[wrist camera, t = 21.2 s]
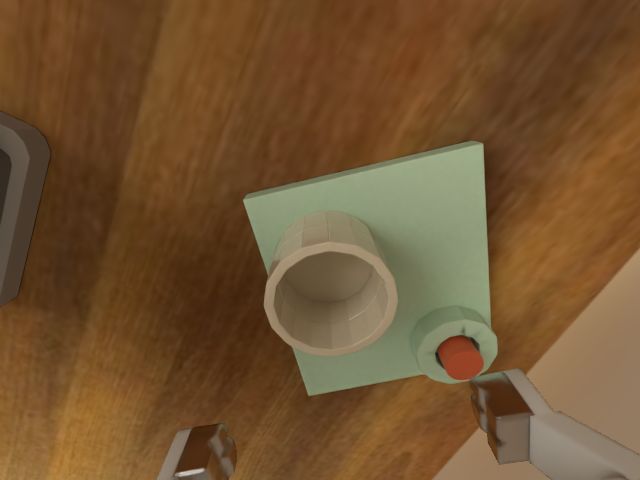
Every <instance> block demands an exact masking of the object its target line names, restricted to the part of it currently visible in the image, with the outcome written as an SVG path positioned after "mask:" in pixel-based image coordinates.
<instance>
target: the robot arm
mask: <svg viewBox="0 0 640 480" xmlns="http://www.w3.org/2000/svg"><path fill="white" fill-rule="evenodd" d="M469 381H470V388H471V390H472V391H473V394H472V396H471V404H472V408H473V412H474V415H475V417H476V420H477V422H478V424H479V426H480V428H481V429H482V430H483V431H485V432H486V433H487V437H488V444H489V446H490V448H491V450H492V452H493V454H494V456H495V457H496V459H497V461H498V463H499V464H506V463H515V462H523V461H530V463H531V464H532V465H534V466H535V467H536V468H537V469H538V470H540V471H541V472H542V473H543V474H545V475H546V476H547V477H548V478H550V479H551V480H640V454H638V453H636V452H635V451H633V450H631V449H629V448H627V447H625V446H623V445H622V444H620V443H617V442H616V441H614V440H612V439H611V438H609V437H607V436H605V435H603V434H601V433H599V432H598V431H596V430H594V429H592V428H590V427H588V426H587V425H585V424H583V423H581V422H579V421H577V420H575V419H574V418H572V417H570V416H568V415H566V414H564V413H563V412H561V411H558V412H555V411H554V410H553V409H552V408H551V406H550V405H549V404H548V403H547V401H546V400H545V399H544V398H543V396H542V395H541V394H540V392H539V391H538V390H537V389H536V387H535V386H534V385H533V383H532V382H531V381H530V380H529V378H528V377H527V376H526V375H525V373H524V372H523V371H522V370H521V369H519V368H518V369H512V370H507V371H502V372H501V371H500V372H495V373H490V374H485V375H480V376H475V377H470V380H469ZM227 433H228V428H227V426H226V424H225V423H218V424H212V425H205V426H199V427H193V428H187V429H181V430H179V431H178V432H177V434H176V435H175V438H174V440H173V442H172V445H171V447H170V449H169V452H168V454H167V456H166V459H165V461H164V463H163V466H162V468H161V470H160V473H159V475H158V477H157V480H229V478H230V476H231V475H232V474H233V472H234V471H235V467H236V462H237V451H236V446H235V443H234V441H233V439H232V438H230V437H229V436H227Z"/></svg>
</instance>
